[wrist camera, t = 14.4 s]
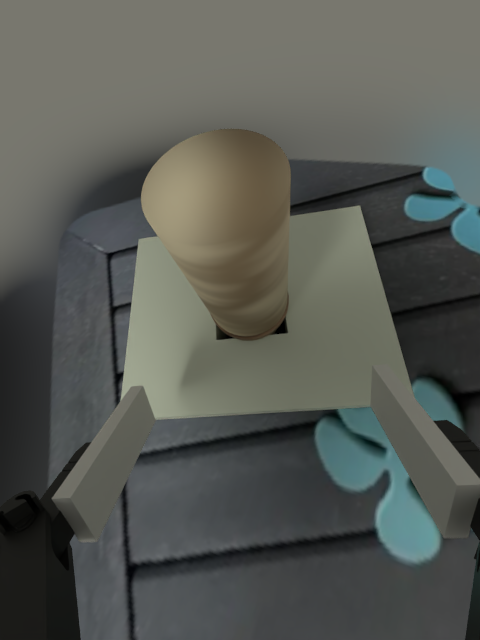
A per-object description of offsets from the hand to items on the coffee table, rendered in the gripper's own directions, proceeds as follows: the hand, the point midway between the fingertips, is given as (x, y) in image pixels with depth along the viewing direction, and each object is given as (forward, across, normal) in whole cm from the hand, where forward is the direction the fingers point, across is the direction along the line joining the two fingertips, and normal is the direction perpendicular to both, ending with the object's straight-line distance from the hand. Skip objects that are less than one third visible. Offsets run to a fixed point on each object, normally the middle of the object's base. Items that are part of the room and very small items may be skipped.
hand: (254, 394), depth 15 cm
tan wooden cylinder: (+10, 0, 0) cm, 10 cm away
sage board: (+10, 0, 0) cm, 10 cm away
